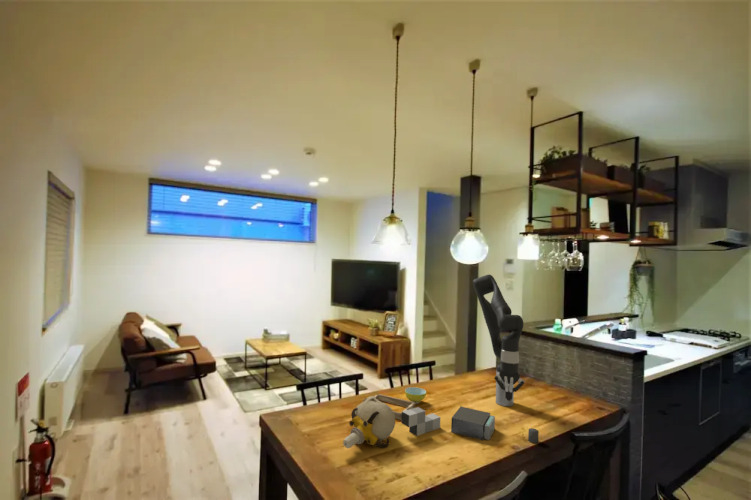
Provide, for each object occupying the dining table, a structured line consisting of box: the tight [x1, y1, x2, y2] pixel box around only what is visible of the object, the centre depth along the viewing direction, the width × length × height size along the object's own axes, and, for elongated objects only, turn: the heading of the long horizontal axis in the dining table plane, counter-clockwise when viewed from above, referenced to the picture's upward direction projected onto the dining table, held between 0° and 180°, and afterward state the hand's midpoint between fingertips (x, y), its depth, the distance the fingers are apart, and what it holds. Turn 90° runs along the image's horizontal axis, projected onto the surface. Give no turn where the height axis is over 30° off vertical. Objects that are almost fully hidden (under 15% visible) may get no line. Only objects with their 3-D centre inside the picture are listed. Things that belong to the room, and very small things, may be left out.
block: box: [400, 406, 441, 437], centre depth 165 cm, size 20×5×10 cm, turn 126°
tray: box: [483, 414, 496, 441], centre depth 167 cm, size 12×15×6 cm
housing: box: [450, 406, 491, 441], centre depth 168 cm, size 15×14×6 cm
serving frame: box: [373, 393, 416, 421], centre depth 188 cm, size 17×22×3 cm
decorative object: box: [341, 395, 396, 449], centre depth 153 cm, size 15×23×30 cm
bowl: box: [404, 386, 427, 405], centre depth 198 cm, size 11×12×6 cm
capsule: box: [527, 428, 540, 444], centre depth 159 cm, size 4×4×4 cm
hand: (509, 400), depth 161 cm, fingers closed
